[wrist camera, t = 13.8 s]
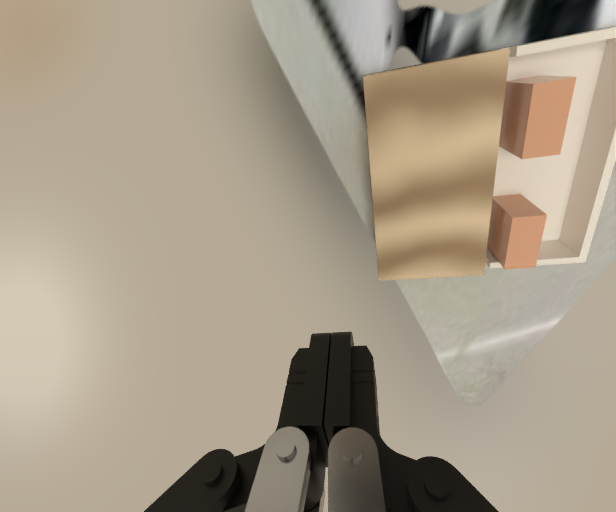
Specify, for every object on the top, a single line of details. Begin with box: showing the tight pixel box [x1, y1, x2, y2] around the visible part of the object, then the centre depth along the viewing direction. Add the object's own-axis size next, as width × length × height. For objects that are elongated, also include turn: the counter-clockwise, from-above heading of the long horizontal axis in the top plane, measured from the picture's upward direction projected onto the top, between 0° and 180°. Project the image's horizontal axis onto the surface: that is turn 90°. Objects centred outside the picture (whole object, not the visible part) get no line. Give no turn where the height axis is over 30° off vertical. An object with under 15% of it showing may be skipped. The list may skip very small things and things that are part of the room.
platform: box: [363, 48, 510, 281], centre depth 28 cm, size 18×10×5 cm, turn 10°
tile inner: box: [499, 75, 576, 159], centre depth 24 cm, size 5×5×2 cm
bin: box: [485, 26, 616, 268], centre depth 27 cm, size 18×8×4 cm, turn 10°
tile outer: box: [487, 194, 547, 269], centre depth 29 cm, size 5×5×2 cm
